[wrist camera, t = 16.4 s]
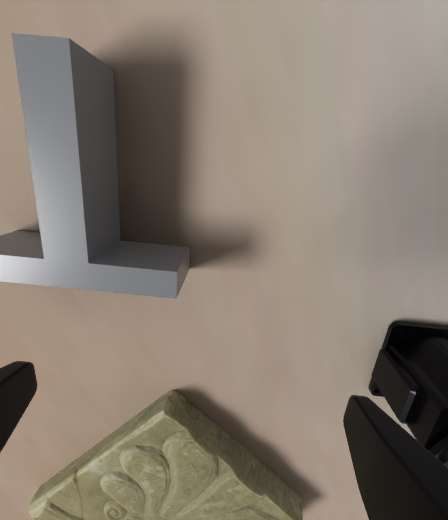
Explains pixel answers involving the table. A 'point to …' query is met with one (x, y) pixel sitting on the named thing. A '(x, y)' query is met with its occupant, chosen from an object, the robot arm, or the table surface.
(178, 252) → the grey piece
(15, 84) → the table surface
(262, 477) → the decorative tile
